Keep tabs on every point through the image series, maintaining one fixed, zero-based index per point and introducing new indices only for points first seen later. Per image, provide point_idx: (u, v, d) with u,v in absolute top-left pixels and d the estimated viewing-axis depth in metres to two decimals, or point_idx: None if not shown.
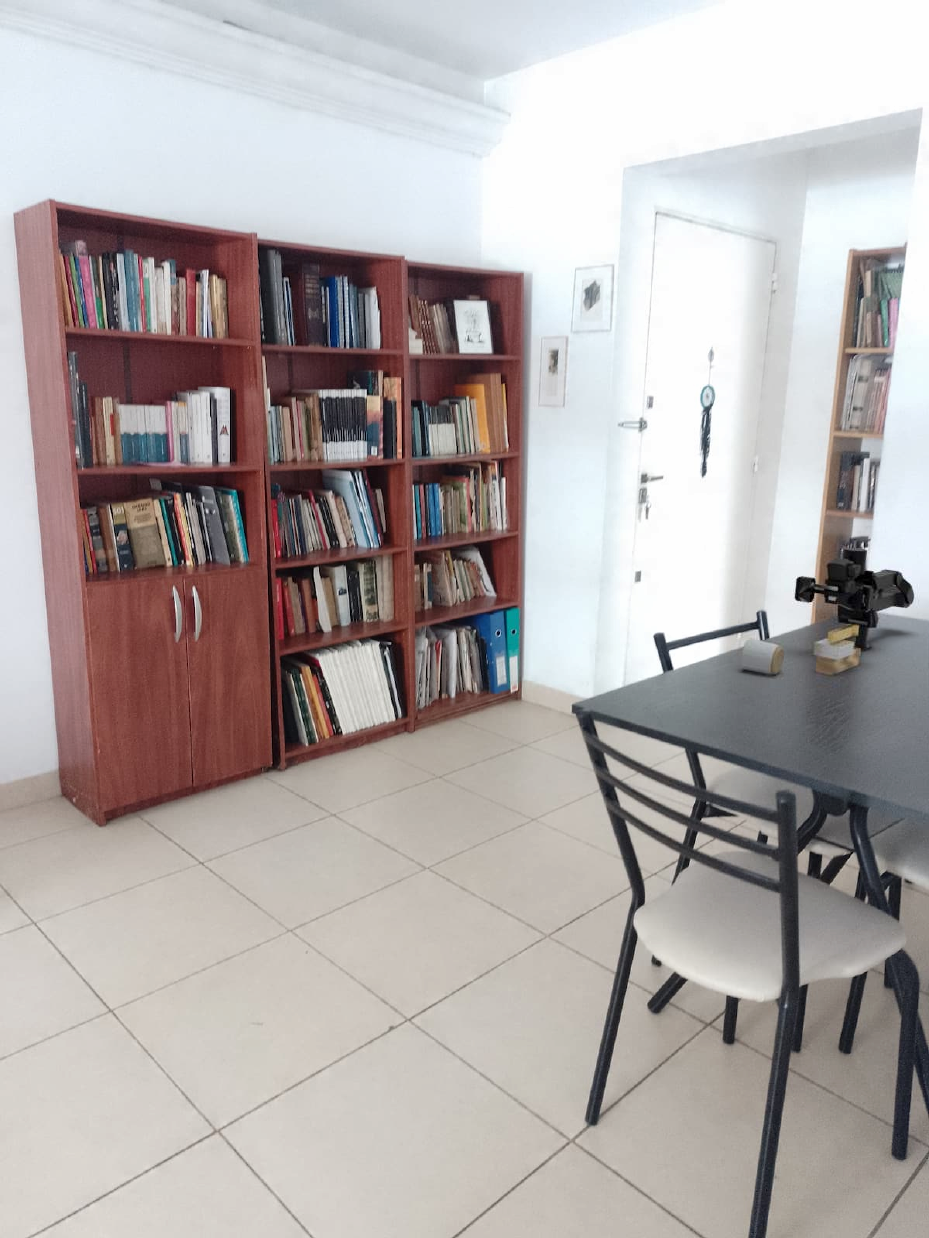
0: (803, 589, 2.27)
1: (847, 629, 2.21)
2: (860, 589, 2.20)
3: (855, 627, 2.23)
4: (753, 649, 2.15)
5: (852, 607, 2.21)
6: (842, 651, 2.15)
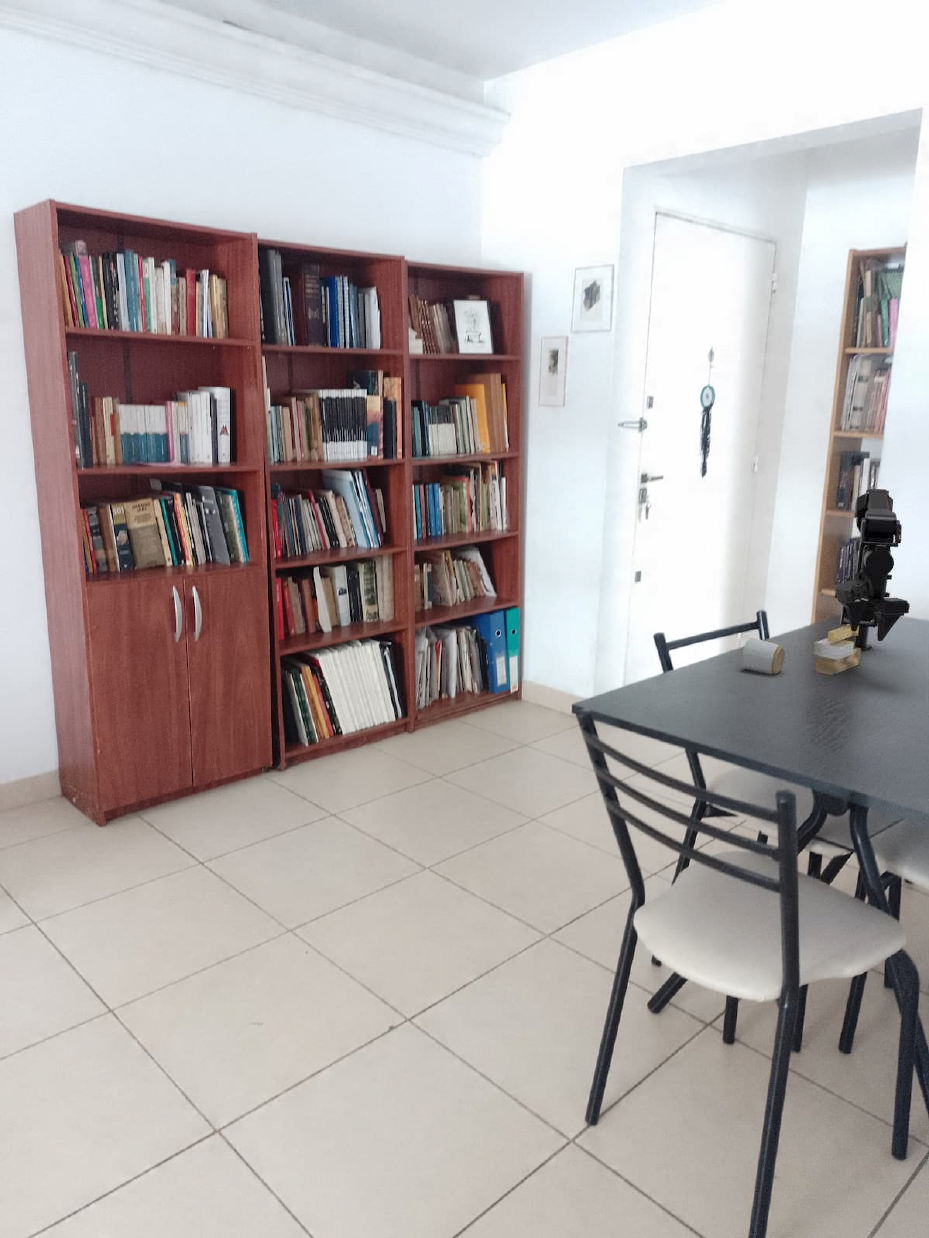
0: (850, 620, 2.15)
1: (847, 629, 2.21)
2: (882, 616, 2.02)
3: None
4: (754, 649, 2.15)
5: (896, 619, 2.04)
6: (842, 651, 2.15)
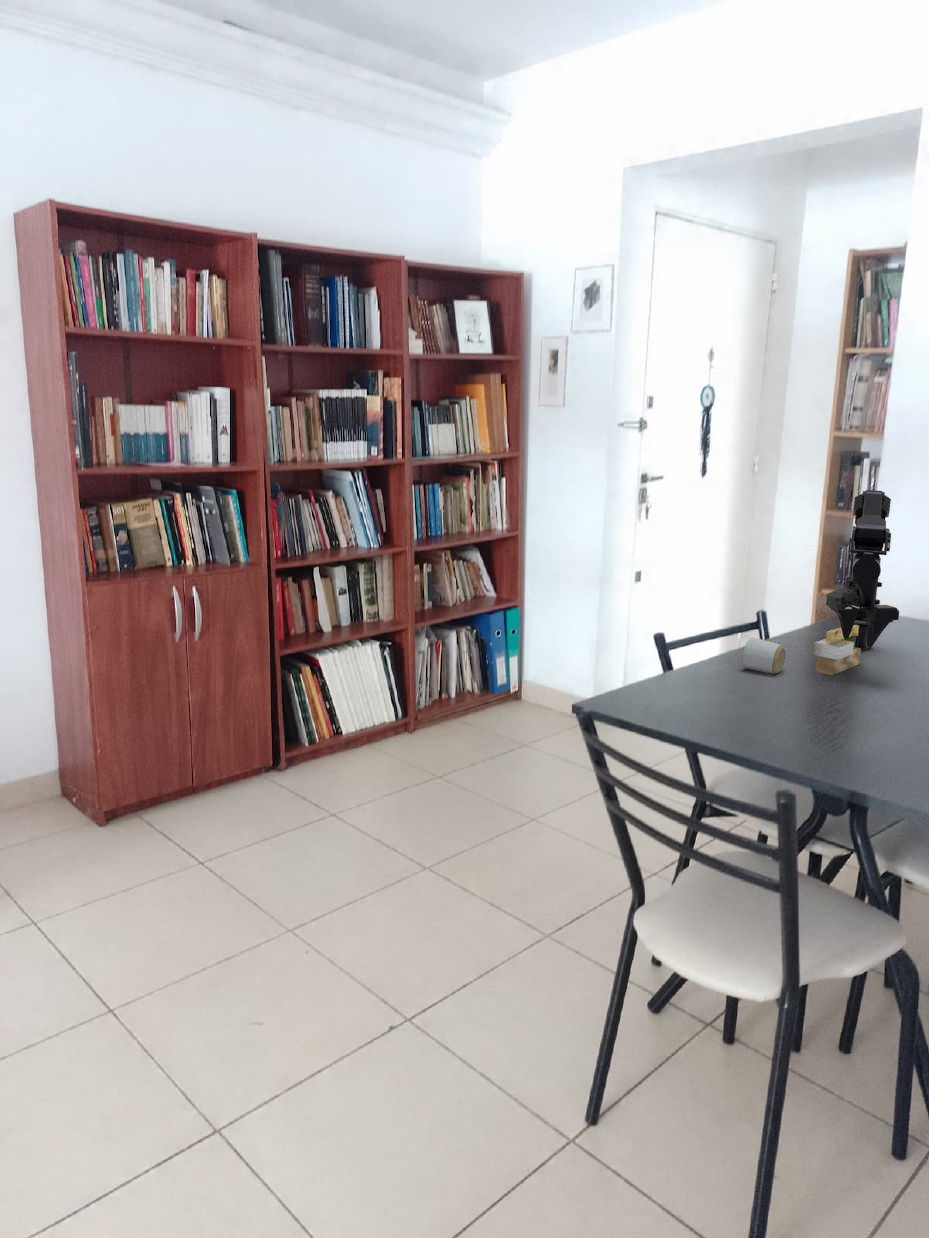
0: (842, 627, 2.18)
1: None
2: (871, 622, 2.06)
3: (855, 627, 2.23)
4: (755, 648, 2.15)
5: (885, 625, 2.08)
6: (842, 651, 2.15)
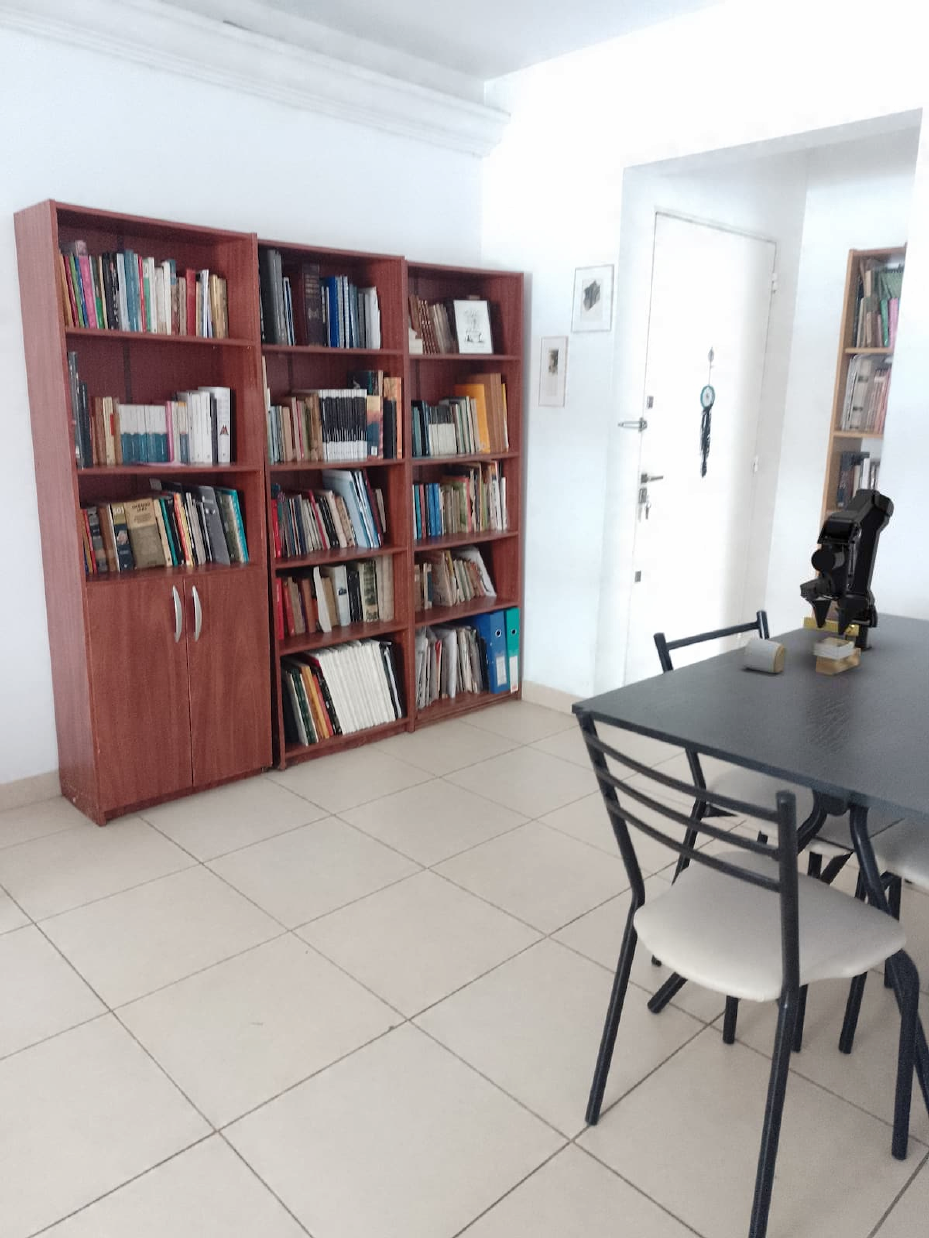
0: (816, 617, 2.27)
1: (833, 623, 2.27)
2: (842, 611, 2.16)
3: None
4: (756, 648, 2.16)
5: (855, 614, 2.18)
6: (842, 651, 2.15)
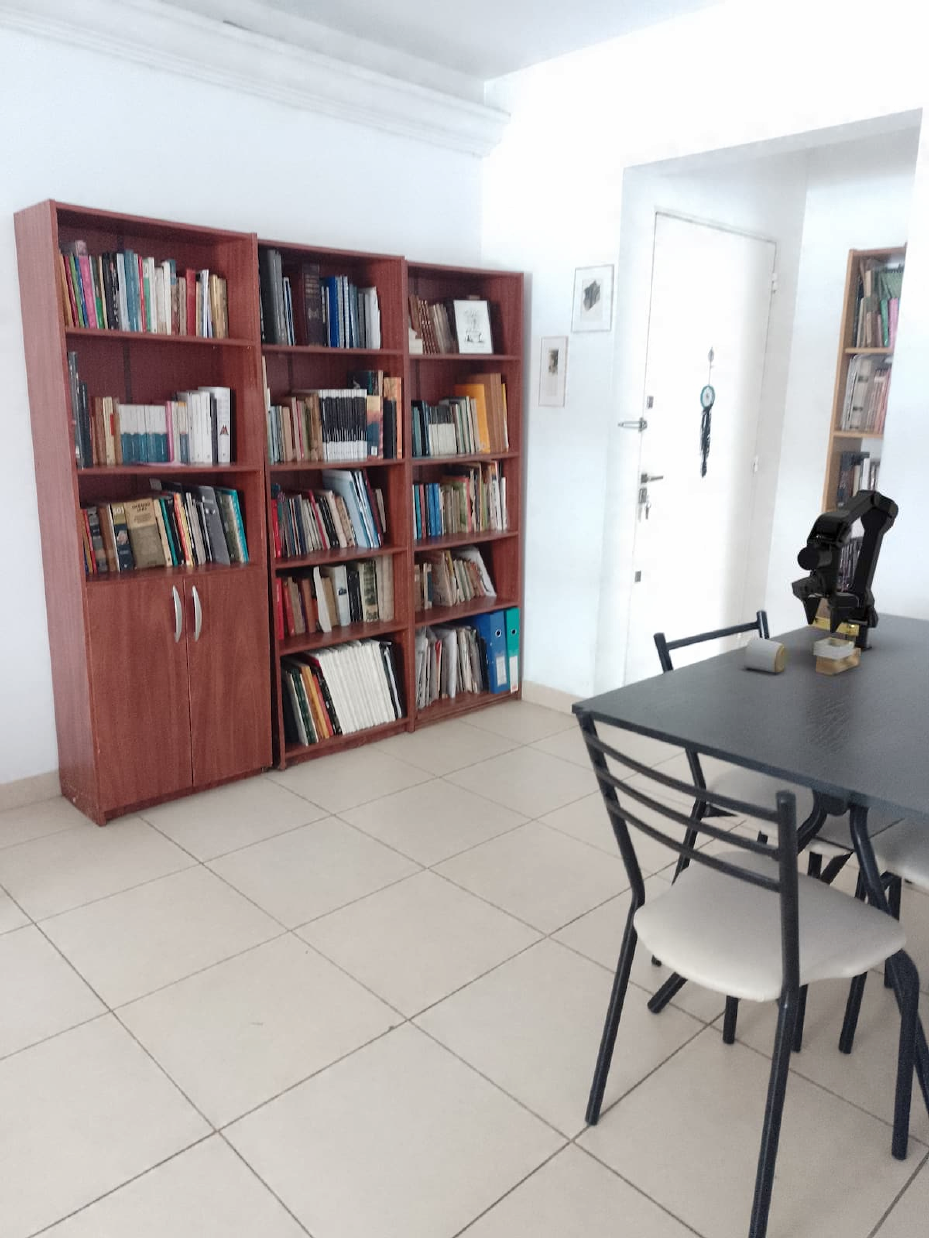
0: (806, 614, 2.31)
1: None
2: (833, 609, 2.19)
3: (846, 625, 2.24)
4: (757, 647, 2.16)
5: (846, 612, 2.21)
6: (842, 651, 2.15)
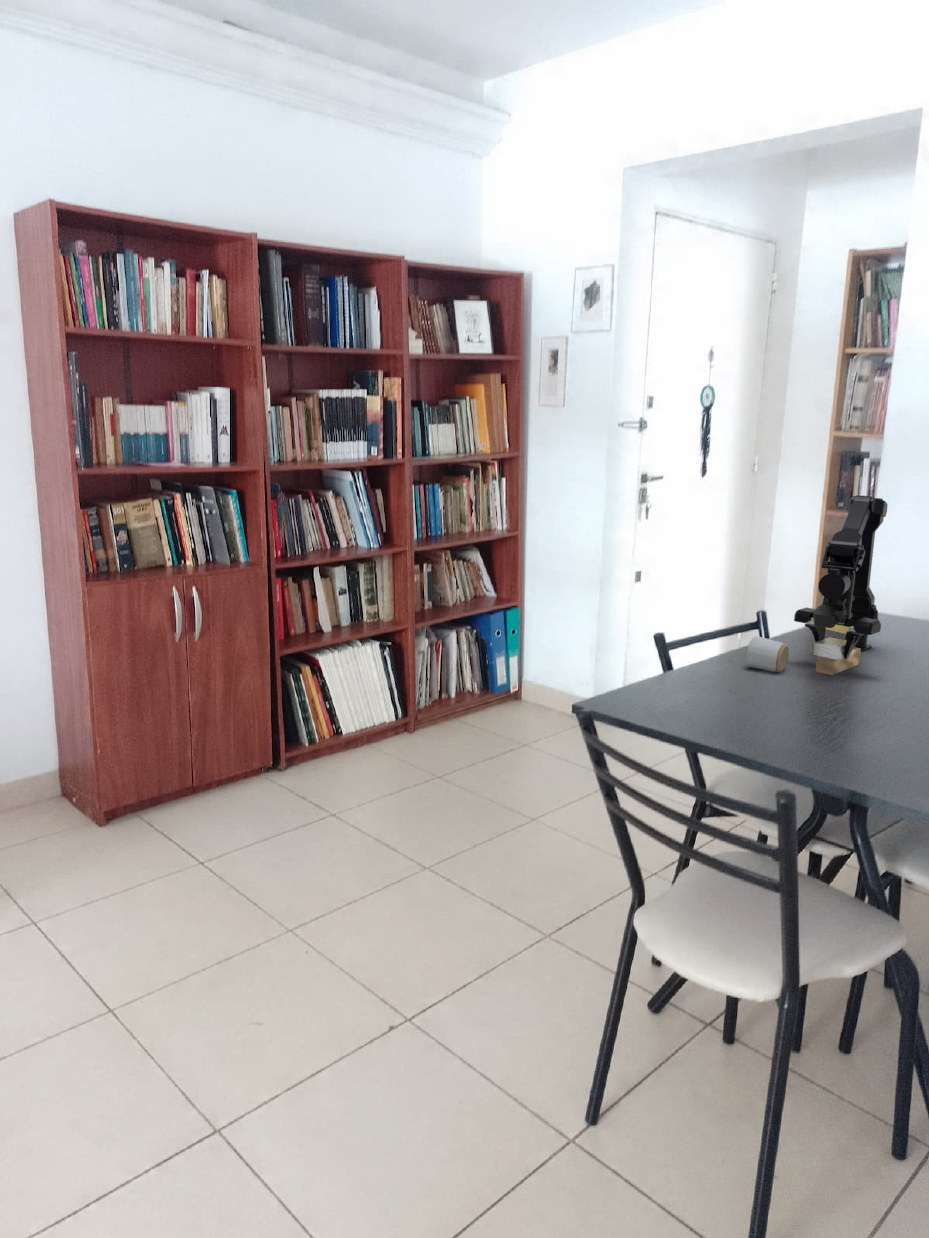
0: None
1: None
2: None
3: None
4: (758, 647, 2.17)
5: (859, 636, 2.16)
6: (842, 651, 2.15)
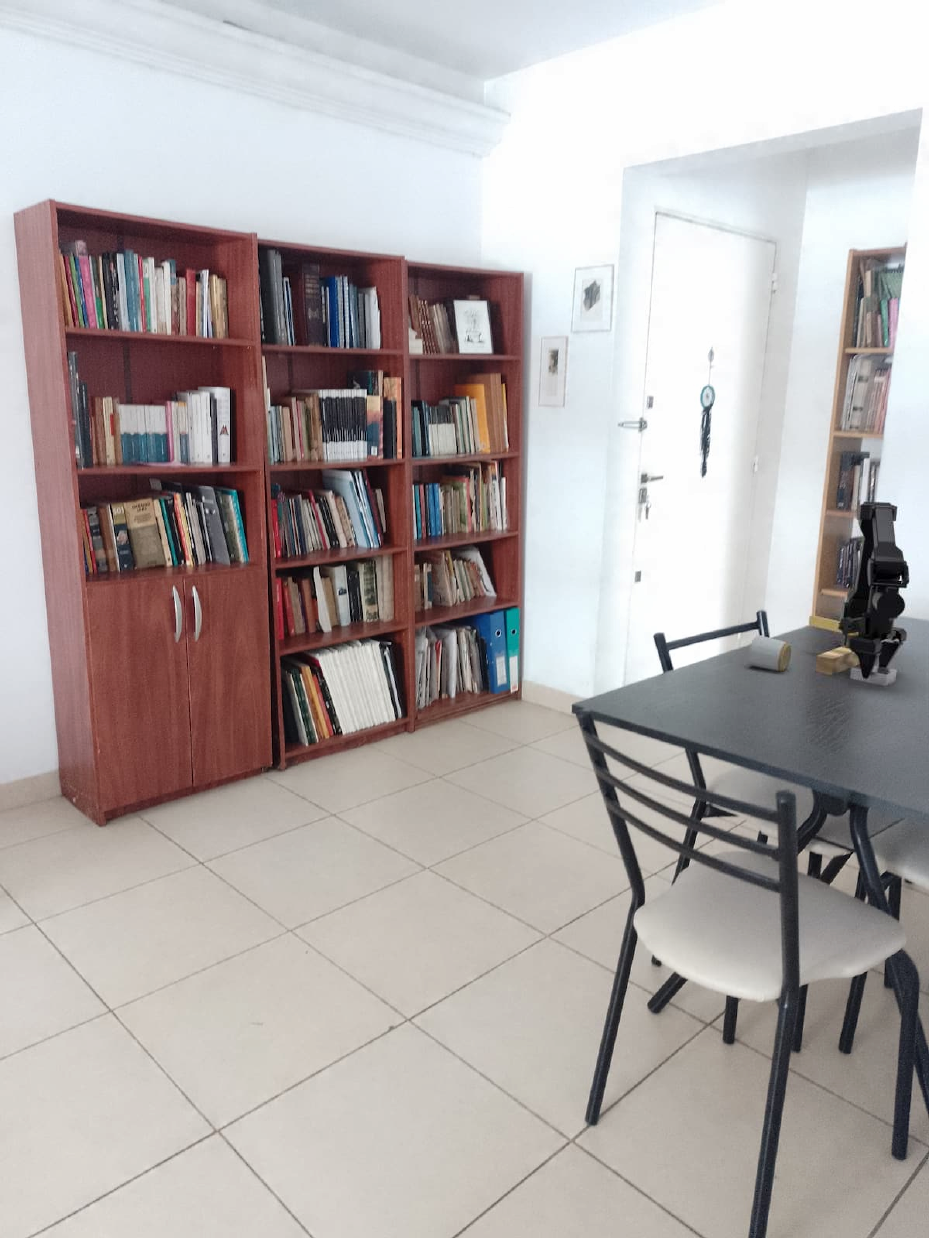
0: None
1: (834, 622, 2.27)
2: None
3: None
4: (761, 646, 2.18)
5: (873, 659, 2.06)
6: (859, 674, 2.12)
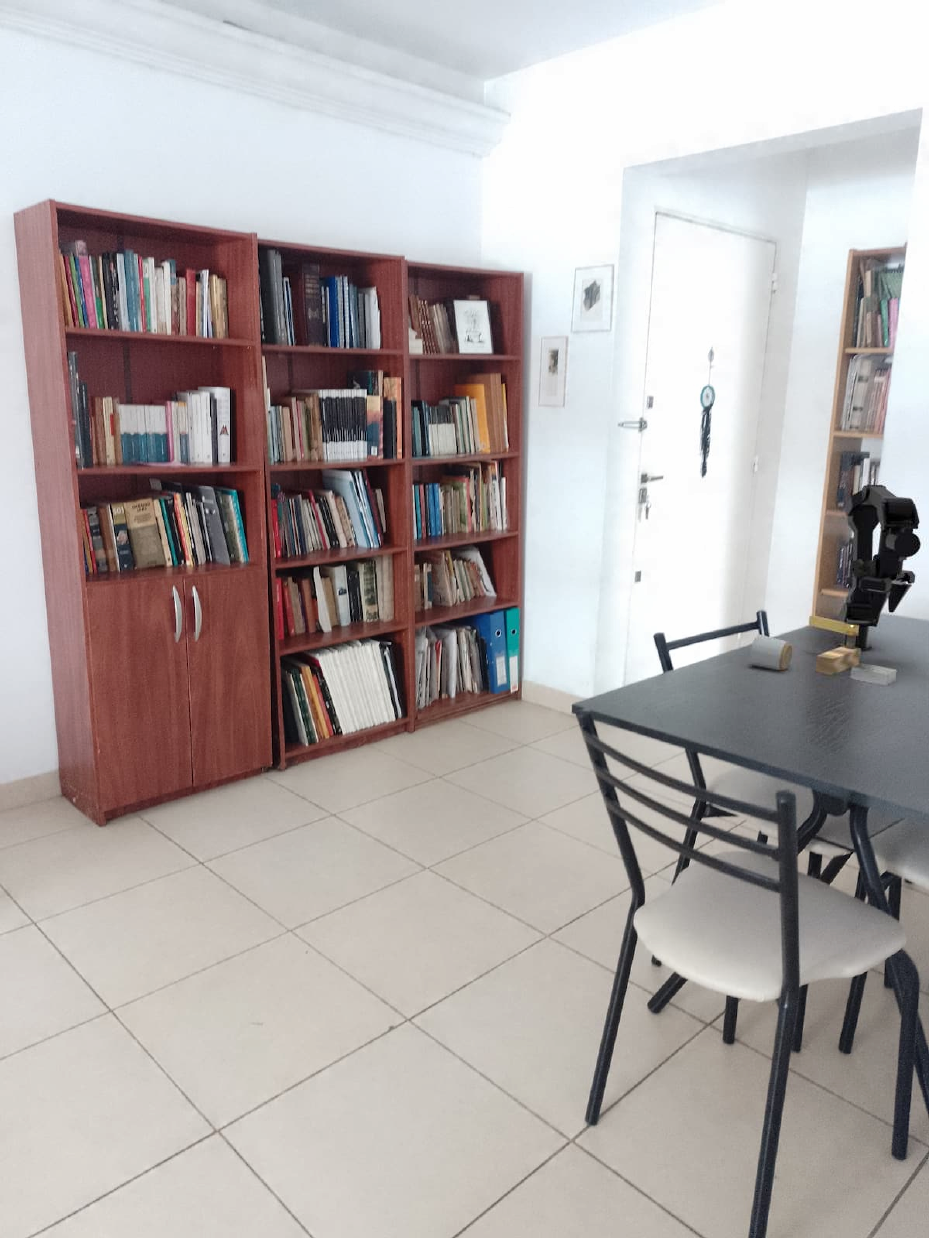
0: None
1: (834, 622, 2.27)
2: (863, 590, 2.16)
3: (846, 625, 2.24)
4: (762, 645, 2.18)
5: (883, 598, 2.14)
6: (859, 674, 2.12)
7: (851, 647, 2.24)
